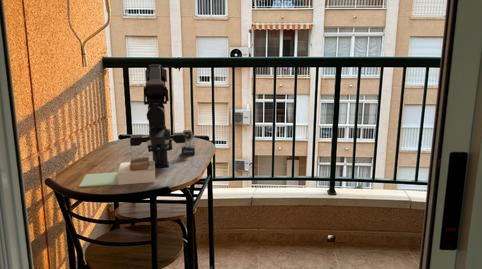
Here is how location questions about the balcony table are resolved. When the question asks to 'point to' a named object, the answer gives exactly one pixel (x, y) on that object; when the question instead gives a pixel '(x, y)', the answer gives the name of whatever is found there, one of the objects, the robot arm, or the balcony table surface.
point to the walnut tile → (139, 164)
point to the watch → (188, 143)
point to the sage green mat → (99, 179)
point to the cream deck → (136, 174)
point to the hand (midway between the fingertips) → (159, 162)
